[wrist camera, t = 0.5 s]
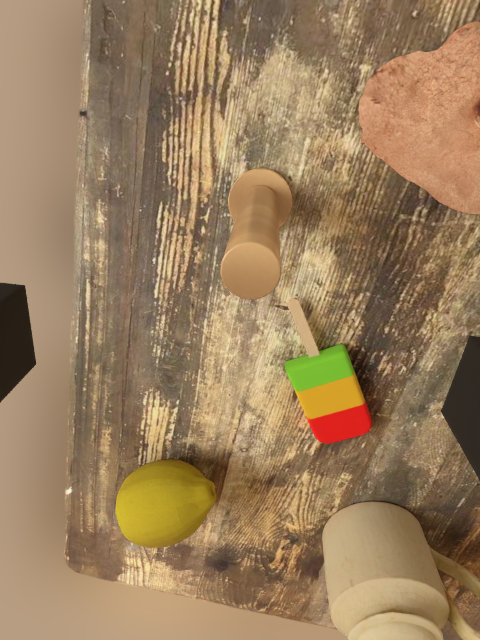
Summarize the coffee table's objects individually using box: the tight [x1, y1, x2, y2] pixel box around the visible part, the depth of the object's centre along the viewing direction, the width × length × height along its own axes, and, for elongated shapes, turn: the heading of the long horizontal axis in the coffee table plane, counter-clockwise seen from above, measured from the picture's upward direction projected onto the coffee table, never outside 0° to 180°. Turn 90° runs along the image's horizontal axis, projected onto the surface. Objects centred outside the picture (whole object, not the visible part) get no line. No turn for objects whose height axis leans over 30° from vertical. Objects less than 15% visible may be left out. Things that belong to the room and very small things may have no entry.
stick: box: [220, 168, 292, 299], centre depth 25 cm, size 5×5×16 cm
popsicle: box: [285, 298, 372, 443], centre depth 38 cm, size 6×15×2 cm, turn 23°
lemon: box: [115, 459, 217, 548], centre depth 42 cm, size 11×8×8 cm
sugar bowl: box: [322, 502, 480, 640], centre depth 40 cm, size 15×11×15 cm
